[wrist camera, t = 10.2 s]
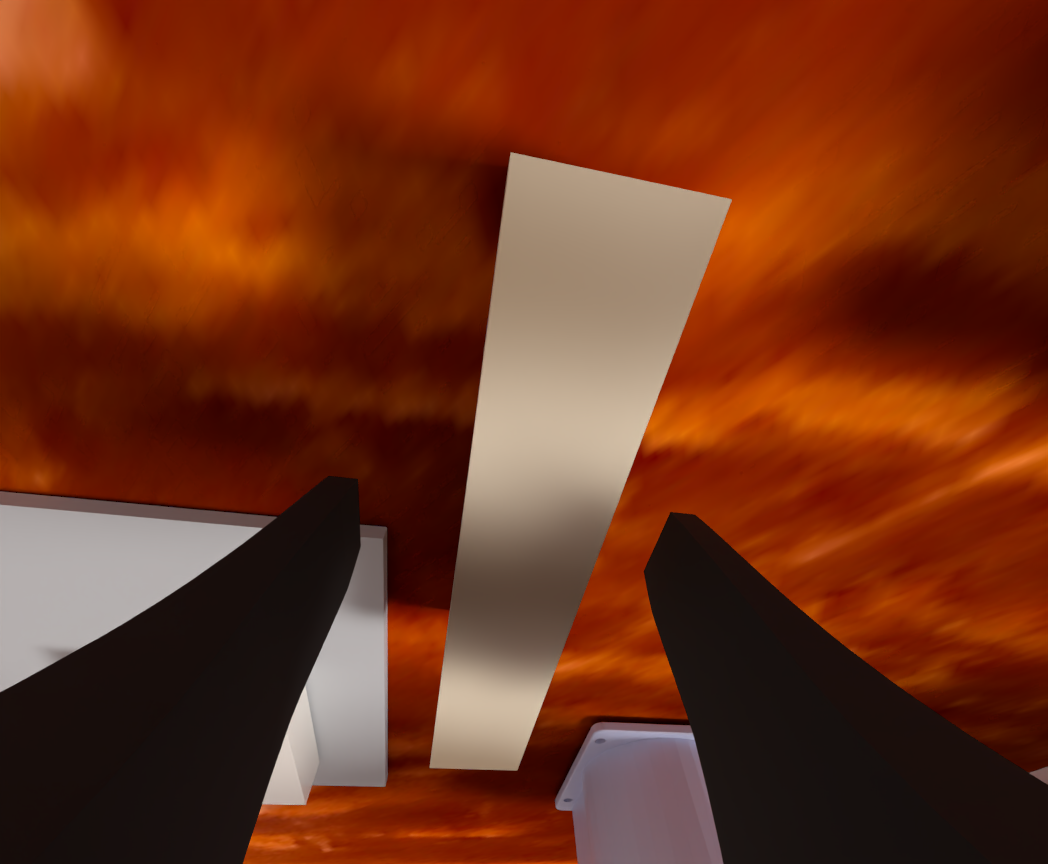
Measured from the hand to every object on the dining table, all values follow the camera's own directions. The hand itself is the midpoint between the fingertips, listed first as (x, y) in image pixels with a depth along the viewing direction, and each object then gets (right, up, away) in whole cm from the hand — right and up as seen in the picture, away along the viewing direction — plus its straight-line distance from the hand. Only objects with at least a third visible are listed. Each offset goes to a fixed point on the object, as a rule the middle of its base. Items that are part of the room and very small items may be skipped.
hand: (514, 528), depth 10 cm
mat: (-13, -7, +7) cm, 16 cm away
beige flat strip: (0, +2, +2) cm, 3 cm away
